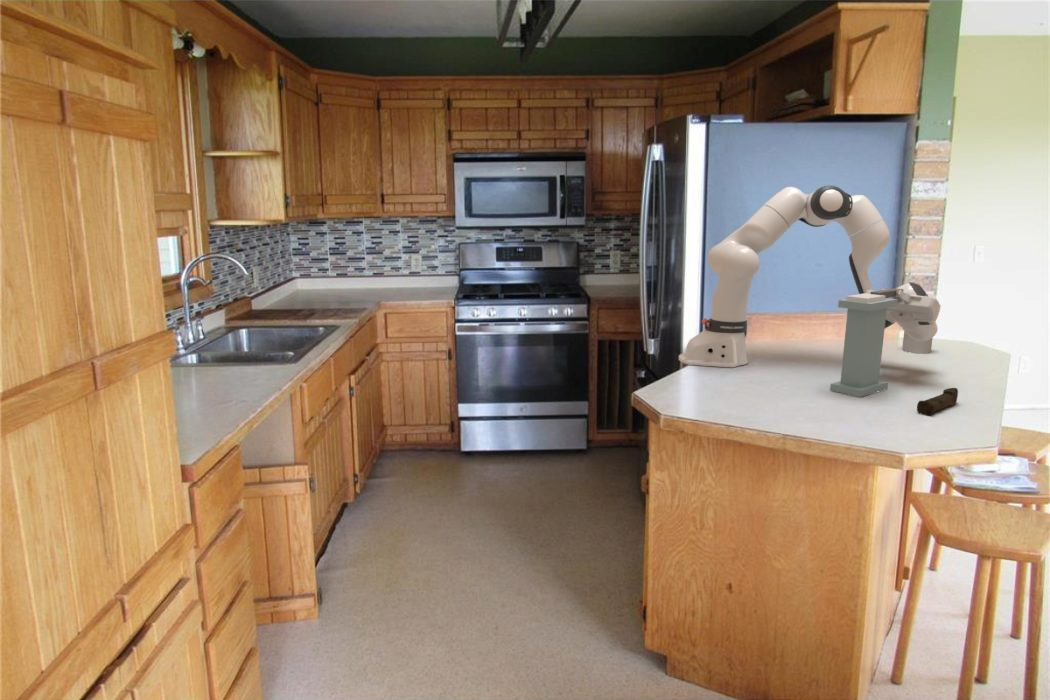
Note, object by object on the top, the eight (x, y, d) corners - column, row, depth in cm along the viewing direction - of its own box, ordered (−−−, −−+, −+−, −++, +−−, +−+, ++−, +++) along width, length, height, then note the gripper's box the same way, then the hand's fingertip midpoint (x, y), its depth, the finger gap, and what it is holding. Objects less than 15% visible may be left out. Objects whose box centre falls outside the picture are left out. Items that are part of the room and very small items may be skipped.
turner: (867, 302, 197) (867, 296, 196) (845, 300, 201) (846, 293, 201) (908, 296, 211) (909, 289, 211) (888, 293, 216) (888, 287, 215)
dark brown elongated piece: (931, 417, 183) (933, 399, 182) (915, 413, 187) (917, 396, 186) (966, 405, 194) (968, 389, 193) (950, 402, 197) (953, 385, 196)
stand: (860, 397, 200) (870, 303, 195) (830, 390, 207) (838, 300, 202) (887, 389, 209) (897, 299, 204) (857, 382, 216) (866, 295, 211)
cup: (904, 352, 259) (908, 319, 256) (899, 347, 267) (903, 315, 265) (933, 354, 256) (937, 320, 254) (927, 349, 264) (931, 316, 262)
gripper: (877, 298, 227) (859, 278, 219) (946, 306, 212) (930, 285, 203) (870, 316, 227) (852, 297, 218) (939, 325, 211) (923, 305, 202)
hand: (890, 291), depth 210 cm, fingers closed on turner, 3 cm apart
